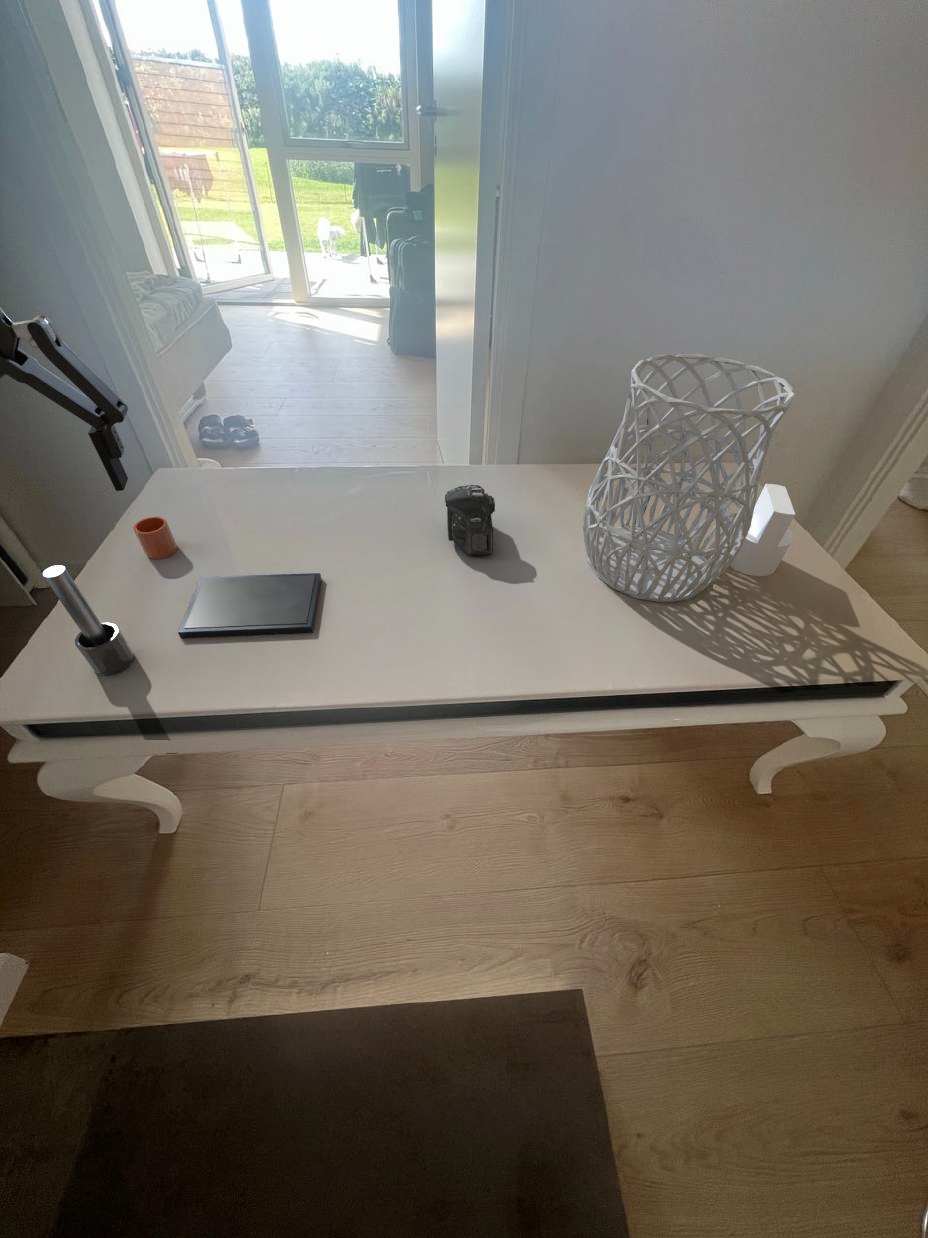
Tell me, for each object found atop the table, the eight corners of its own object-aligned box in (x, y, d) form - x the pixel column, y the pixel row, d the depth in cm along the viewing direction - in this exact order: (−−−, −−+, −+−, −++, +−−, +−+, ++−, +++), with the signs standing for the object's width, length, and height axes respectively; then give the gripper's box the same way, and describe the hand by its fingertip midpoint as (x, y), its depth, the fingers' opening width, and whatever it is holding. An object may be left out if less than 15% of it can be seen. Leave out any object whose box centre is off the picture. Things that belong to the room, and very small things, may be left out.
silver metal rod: (103, 668, 68) (42, 579, 57) (102, 657, 69) (42, 568, 59) (122, 662, 69) (65, 573, 58) (121, 651, 70) (64, 562, 59)
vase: (636, 630, 76) (710, 431, 55) (547, 540, 92) (579, 359, 71) (754, 587, 84) (858, 399, 63) (655, 511, 100) (711, 340, 79)
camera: (428, 524, 94) (427, 474, 87) (478, 513, 97) (481, 464, 90) (459, 567, 86) (461, 515, 79) (512, 553, 89) (518, 502, 82)
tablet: (180, 638, 72) (177, 631, 72) (203, 582, 81) (200, 576, 80) (312, 632, 74) (311, 626, 73) (321, 578, 83) (320, 572, 82)
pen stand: (94, 681, 67) (75, 654, 63) (92, 656, 70) (73, 630, 66) (136, 667, 68) (119, 641, 65) (132, 643, 71) (116, 617, 68)
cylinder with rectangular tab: (718, 540, 93) (745, 480, 85) (771, 549, 92) (805, 488, 84) (723, 570, 87) (753, 508, 79) (780, 580, 86) (817, 518, 77)
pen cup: (147, 562, 84) (135, 536, 81) (144, 546, 87) (131, 521, 84) (179, 553, 86) (168, 528, 82) (174, 538, 89) (164, 513, 85)
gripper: (99, 243, 47) (181, 463, 61) (-251, 246, 41) (-69, 486, 56) (78, 260, 41) (173, 496, 56) (-325, 266, 36) (-103, 524, 51)
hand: (52, 491), depth 56 cm, fingers open, 13 cm apart
